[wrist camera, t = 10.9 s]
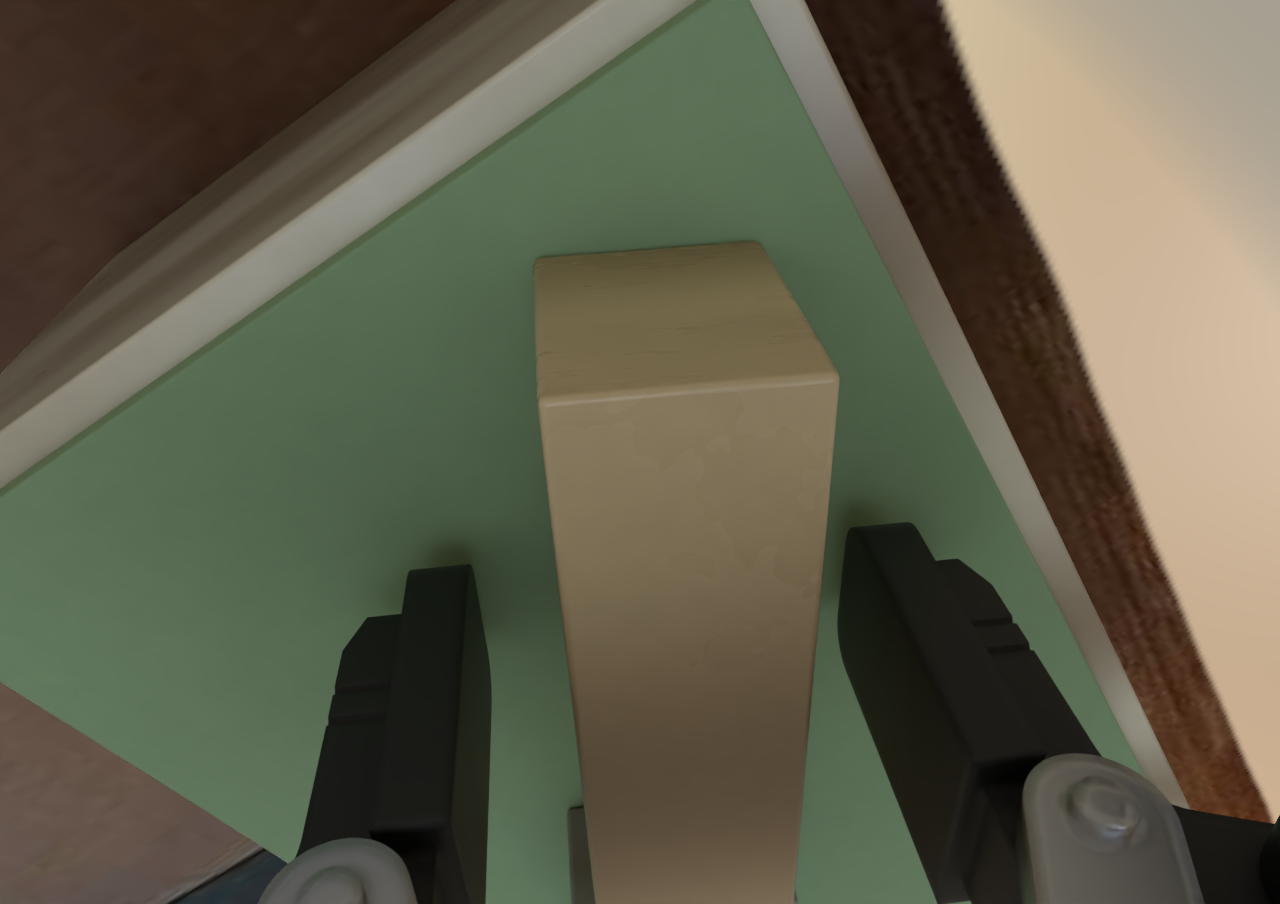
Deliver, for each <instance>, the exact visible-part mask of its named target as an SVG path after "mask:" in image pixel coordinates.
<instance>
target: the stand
mask: <svg viewBox="0 0 1280 904" xmlns="http://www.w3.org/2000/svg"><path fill="white" fill-rule="evenodd" d="M695 1H697V0H456V1H454V2H453V3H452V4H450V5H449V6H448V7H446V8H445V9H444V10H442V11H441V12H440V13H438V14H437V15H436V16H434V17H433V18H432V19H430V20H429V21H428V22H426V23H425V24H424V25H422V26H421V27H420V28H418V29H417V30H416V31H414V32H413V33H412V34H410V35H409V36H408V37H406V38H405V39H404V40H402V41H401V42H400V43H398V44H397V45H396V46H394V47H393V48H392V49H390V50H389V51H388V52H386V53H385V54H384V55H382V56H381V57H380V58H378V59H377V60H376V61H374V62H373V63H372V64H370V65H369V66H368V67H366V68H365V69H364V70H362V71H361V72H360V73H358V74H357V75H356V76H354V77H353V78H352V79H350V80H349V81H348V82H346V83H345V84H344V85H342V86H341V87H340V88H338V89H337V90H336V91H334V92H333V93H332V94H330V95H329V96H328V97H326V98H325V99H324V100H322V101H321V102H320V103H318V104H317V105H316V106H314V107H313V108H312V109H310V110H309V111H308V112H306V113H305V114H304V115H302V116H301V117H300V118H298V119H297V120H296V121H294V122H293V123H292V124H290V125H289V126H288V127H286V128H285V129H284V130H282V131H281V132H280V133H278V134H277V135H276V136H274V137H273V138H272V139H270V140H269V141H268V142H266V143H265V144H264V145H262V146H261V147H260V148H258V149H257V150H256V151H254V152H253V153H252V154H250V155H249V156H248V157H246V158H245V159H244V160H242V161H241V162H240V163H238V164H237V165H236V166H234V167H233V168H232V169H230V170H229V171H228V172H226V173H225V174H224V175H222V176H221V177H220V178H218V179H217V180H216V181H214V182H213V183H212V184H210V185H209V186H208V187H206V188H205V189H204V190H202V191H201V192H200V193H198V194H197V195H196V196H194V197H193V198H192V199H190V200H189V201H188V202H186V203H185V204H184V205H182V206H181V207H180V208H178V209H177V210H176V211H174V212H173V213H172V214H170V215H169V216H168V217H166V218H165V219H164V220H162V221H161V222H160V223H158V224H157V225H156V226H154V227H153V228H152V229H150V230H149V231H148V232H146V233H145V234H144V235H142V236H141V237H140V238H138V239H137V240H136V241H134V242H133V243H132V244H130V245H129V246H128V247H126V248H125V249H124V250H122V251H121V252H120V253H118V254H117V255H116V256H114V257H113V258H112V259H111V260H110V261H109V262H108V263H107V264H106V265H105V267H104V268H103V269H102V270H101V271H100V272H99V273H98V274H97V275H96V276H95V277H94V278H93V279H92V280H91V281H90V282H89V283H88V284H87V285H86V286H85V287H84V288H83V289H82V290H81V291H80V292H79V293H78V294H77V295H76V296H75V297H74V298H73V299H72V301H71V302H70V303H69V304H68V305H67V306H66V307H65V308H64V309H63V310H62V311H61V312H60V313H59V314H58V315H57V316H56V317H55V318H54V319H53V320H52V321H51V322H50V323H49V324H48V325H47V326H46V327H45V328H44V329H43V330H42V331H41V332H40V334H39V335H38V336H37V337H36V338H35V339H34V340H33V341H32V342H31V343H30V344H29V345H28V346H27V347H26V348H25V349H24V350H23V351H22V352H21V353H20V354H19V355H18V356H17V357H16V358H15V359H14V360H13V361H12V362H11V363H10V364H9V365H8V366H7V368H6V369H5V370H4V371H3V372H2V373H1V374H0V489H1V488H2V487H4V486H5V485H7V484H8V483H9V482H11V481H12V480H14V479H15V478H17V477H18V476H19V475H21V474H22V473H24V472H25V471H27V470H28V469H29V468H31V467H32V466H34V465H35V464H37V463H38V462H39V461H41V460H42V459H44V458H45V457H46V456H48V455H49V454H51V453H52V452H54V451H55V450H56V449H58V448H59V447H61V446H62V445H64V444H65V443H66V442H68V441H69V440H71V439H72V438H74V437H75V436H76V435H78V434H79V433H81V432H82V431H84V430H85V429H86V428H88V427H89V426H91V425H92V424H94V423H95V422H96V421H98V420H99V419H101V418H102V417H104V416H105V415H106V414H108V413H109V412H111V411H112V410H113V409H115V408H116V407H118V406H119V405H121V404H122V403H123V402H125V401H126V400H128V399H129V398H131V397H132V396H133V395H135V394H136V393H138V392H139V391H141V390H142V389H143V388H145V387H146V386H148V385H149V384H151V383H152V382H153V381H155V380H156V379H158V378H159V377H161V376H162V375H163V374H165V373H166V372H168V371H169V370H171V369H172V368H173V367H175V366H176V365H178V364H179V363H180V362H182V361H183V360H185V359H186V358H188V357H189V356H190V355H192V354H193V353H195V352H196V351H198V350H199V349H200V348H202V347H203V346H205V345H206V344H208V343H209V342H210V341H212V340H213V339H215V338H216V337H218V336H219V335H220V334H222V333H223V332H225V331H226V330H228V329H229V328H230V327H232V326H233V325H235V324H236V323H238V322H239V321H240V320H242V319H243V318H245V317H246V316H247V315H249V314H250V313H252V312H253V311H255V310H256V309H257V308H259V307H260V306H262V305H263V304H265V303H266V302H267V301H269V300H270V299H272V298H273V297H275V296H276V295H277V294H279V293H280V292H282V291H283V290H285V289H286V288H287V287H289V286H290V285H292V284H293V283H295V282H296V281H297V280H299V279H300V278H302V277H303V276H305V275H306V274H307V273H309V272H310V271H312V270H313V269H314V268H316V267H317V266H319V265H320V264H322V263H323V262H324V261H326V260H327V259H329V258H330V257H332V256H333V255H334V254H336V253H337V252H339V251H340V250H342V249H343V248H344V247H346V246H347V245H349V244H350V243H352V242H353V241H354V240H356V239H357V238H359V237H360V236H362V235H363V234H364V233H366V232H367V231H369V230H370V229H372V228H373V227H374V226H376V225H377V224H379V223H380V222H382V221H383V220H384V219H386V218H387V217H389V216H390V215H391V214H393V213H394V212H396V211H397V210H399V209H400V208H401V207H403V206H404V205H406V204H407V203H409V202H410V201H411V200H413V199H414V198H416V197H417V196H419V195H420V194H421V193H423V192H424V191H426V190H427V189H429V188H430V187H431V186H433V185H434V184H436V183H437V182H439V181H440V180H441V179H443V178H444V177H446V176H447V175H449V174H450V173H451V172H453V171H454V170H456V169H457V168H458V167H460V166H461V165H463V164H464V163H466V162H467V161H468V160H470V159H471V158H473V157H474V156H476V155H477V154H478V153H480V152H481V151H483V150H484V149H486V148H487V147H488V146H490V145H491V144H493V143H494V142H496V141H497V140H498V139H500V138H501V137H503V136H504V135H506V134H507V133H508V132H510V131H511V130H513V129H514V128H516V127H517V126H518V125H520V124H521V123H523V122H524V121H525V120H527V119H528V118H530V117H531V116H533V115H534V114H535V113H537V112H538V111H540V110H541V109H543V108H544V107H545V106H547V105H548V104H550V103H551V102H553V101H554V100H555V99H557V98H558V97H560V96H561V95H563V94H564V93H565V92H567V91H568V90H570V89H571V88H573V87H574V86H575V85H577V84H578V83H580V82H581V81H583V80H584V79H585V78H587V77H588V76H590V75H591V74H592V73H594V72H595V71H597V70H598V69H600V68H601V67H602V66H604V65H605V64H607V63H608V62H610V61H611V60H612V59H614V58H615V57H617V56H618V55H620V54H621V53H622V52H624V51H625V50H627V49H628V48H630V47H631V46H632V45H634V44H635V43H637V42H638V41H640V40H641V39H642V38H644V37H645V36H647V35H648V34H650V33H651V32H652V31H654V30H655V29H657V28H658V27H660V26H661V25H662V24H664V23H665V22H667V21H668V20H669V19H671V18H672V17H674V16H675V15H677V14H678V13H679V12H681V11H682V10H684V9H685V8H687V7H688V6H689V5H691V4H692V3H694V2H695ZM750 2H751V4H752V6H753V8H754V10H755V12H756V14H757V16H758V18H759V19H760V21H761V23H762V25H763V27H764V29H765V31H766V33H767V35H768V37H769V39H770V41H771V43H772V45H773V47H774V49H775V51H776V53H777V55H778V57H779V59H780V61H781V63H782V65H783V67H784V69H785V71H786V72H787V74H788V76H789V78H790V80H791V82H792V84H793V86H794V88H795V90H796V92H797V94H798V96H799V98H800V100H801V102H802V104H803V106H804V108H805V110H806V112H807V114H808V116H809V118H810V120H811V122H812V124H813V126H814V127H815V129H816V131H817V133H818V135H819V137H820V139H821V141H822V143H823V145H824V147H825V149H826V151H827V153H828V155H829V157H830V159H831V161H832V163H833V165H834V167H835V169H836V171H837V173H838V175H839V177H840V179H841V180H842V182H843V184H844V186H845V188H846V190H847V192H848V194H849V196H850V198H851V200H852V202H853V204H854V206H855V208H856V210H857V212H858V214H859V216H860V218H861V220H862V222H863V224H864V226H865V228H866V230H867V232H868V233H869V235H870V237H871V239H872V241H873V243H874V245H875V247H876V249H877V251H878V253H879V255H880V257H881V259H882V261H883V263H884V265H885V267H886V269H887V271H888V273H889V275H890V277H891V279H892V281H893V283H894V285H895V287H896V288H897V290H898V292H899V294H900V296H901V298H902V300H903V302H904V304H905V306H906V308H907V310H908V312H909V314H910V316H911V318H912V320H913V322H914V324H915V326H916V328H917V330H918V332H919V334H920V336H921V338H922V340H923V341H924V343H925V345H926V347H927V349H928V351H929V353H930V355H931V357H932V359H933V361H934V363H935V365H936V367H937V369H938V371H939V373H940V375H941V377H942V379H943V381H944V383H945V385H946V387H947V389H948V391H949V393H950V394H951V396H952V398H953V400H954V402H955V404H956V406H957V408H958V410H959V412H960V414H961V416H962V418H963V420H964V422H965V424H966V426H967V428H968V430H969V432H970V434H971V436H972V438H973V440H974V442H975V444H976V446H977V447H978V449H979V451H980V453H981V455H982V457H983V459H984V461H985V463H986V465H987V467H988V469H989V471H990V473H991V475H992V477H993V479H994V481H995V483H996V485H997V487H998V489H999V491H1000V493H1001V495H1002V497H1003V499H1004V501H1005V502H1006V504H1007V506H1008V508H1009V510H1010V512H1011V514H1012V516H1013V518H1014V520H1015V522H1016V524H1017V526H1018V528H1019V530H1020V532H1021V534H1022V536H1023V538H1024V540H1025V542H1026V544H1027V546H1028V548H1029V550H1030V552H1031V554H1032V555H1033V557H1034V559H1035V561H1036V563H1037V565H1038V567H1039V569H1040V571H1041V573H1042V575H1043V577H1044V579H1045V581H1046V583H1047V585H1048V587H1049V589H1050V591H1051V593H1052V595H1053V597H1054V599H1055V601H1056V603H1057V605H1058V607H1059V608H1060V610H1061V612H1062V614H1063V616H1064V618H1065V620H1066V622H1067V624H1068V626H1069V628H1070V630H1071V632H1072V634H1073V636H1074V638H1075V640H1076V642H1077V644H1078V646H1079V648H1080V650H1081V652H1082V654H1083V656H1084V658H1085V660H1086V661H1087V663H1088V665H1089V667H1090V669H1091V671H1092V673H1093V675H1094V677H1095V679H1096V681H1097V683H1098V685H1099V687H1100V689H1101V691H1102V693H1103V695H1104V697H1105V699H1106V701H1107V703H1108V705H1109V707H1110V709H1111V711H1112V713H1113V715H1114V716H1115V718H1116V720H1117V722H1118V724H1119V726H1120V728H1121V730H1122V732H1123V734H1124V736H1125V738H1126V740H1127V742H1128V744H1129V746H1130V748H1131V750H1132V752H1133V754H1134V756H1135V758H1136V760H1137V762H1138V764H1139V766H1140V768H1141V769H1142V771H1143V773H1144V775H1145V777H1146V779H1147V780H1148V781H1150V782H1151V783H1152V784H1153V785H1154V786H1155V787H1157V788H1158V789H1159V790H1160V791H1161V792H1162V793H1163V795H1164V796H1165V797H1166V798H1167V799H1168V801H1169V802H1170V803H1171V804H1173V805H1176V806H1179V807H1182V808H1186V809H1190V807H1189V805H1188V803H1187V801H1186V799H1185V797H1184V795H1183V793H1182V790H1181V788H1180V786H1179V784H1178V782H1177V780H1176V778H1175V776H1174V774H1173V772H1172V770H1171V767H1170V765H1169V763H1168V761H1167V759H1166V757H1165V755H1164V753H1163V751H1162V749H1161V746H1160V744H1159V742H1158V740H1157V738H1156V736H1155V734H1154V732H1153V730H1152V728H1151V725H1150V723H1149V721H1148V719H1147V717H1146V715H1145V713H1144V711H1143V709H1142V707H1141V705H1140V702H1139V700H1138V698H1137V696H1136V694H1135V692H1134V690H1133V688H1132V686H1131V684H1130V681H1129V679H1128V677H1127V675H1126V673H1125V671H1124V669H1123V667H1122V665H1121V663H1120V660H1119V658H1118V656H1117V654H1116V652H1115V650H1114V648H1113V646H1112V644H1111V642H1110V640H1109V637H1108V635H1107V633H1106V631H1105V629H1104V627H1103V625H1102V623H1101V621H1100V619H1099V616H1098V614H1097V612H1096V610H1095V608H1094V606H1093V604H1092V602H1091V600H1090V598H1089V596H1088V593H1087V591H1086V589H1085V587H1084V585H1083V583H1082V581H1081V579H1080V577H1079V575H1078V572H1077V570H1076V568H1075V566H1074V564H1073V562H1072V560H1071V558H1070V556H1069V554H1068V551H1067V549H1066V547H1065V545H1064V543H1063V541H1062V539H1061V537H1060V535H1059V533H1058V531H1057V528H1056V526H1055V524H1054V522H1053V520H1052V518H1051V516H1050V514H1049V512H1048V510H1047V507H1046V505H1045V503H1044V501H1043V499H1042V497H1041V495H1040V493H1039V491H1038V489H1037V486H1036V484H1035V482H1034V480H1033V478H1032V476H1031V474H1030V472H1029V470H1028V468H1027V466H1026V463H1025V461H1024V459H1023V457H1022V455H1021V453H1020V451H1019V449H1018V447H1017V445H1016V442H1015V440H1014V438H1013V436H1012V434H1011V432H1010V430H1009V428H1008V426H1007V424H1006V422H1005V419H1004V417H1003V415H1002V413H1001V411H1000V409H999V407H998V405H997V403H996V401H995V398H994V396H993V394H992V392H991V390H990V388H989V386H988V384H987V382H986V380H985V377H984V375H983V373H982V371H981V369H980V367H979V365H978V363H977V361H976V359H975V357H974V354H973V352H972V350H971V348H970V346H969V344H968V342H967V340H966V338H965V336H964V333H963V331H962V329H961V327H960V325H959V323H958V321H957V319H956V317H955V315H954V312H953V310H952V308H951V306H950V304H949V302H948V300H947V298H946V296H945V294H944V292H943V289H942V287H941V285H940V283H939V281H938V279H937V277H936V275H935V273H934V271H933V268H932V266H931V264H930V262H929V260H928V258H927V256H926V254H925V252H924V250H923V248H922V245H921V243H920V241H919V239H918V237H917V235H916V233H915V231H914V229H913V227H912V224H911V222H910V220H909V218H908V216H907V214H906V212H905V210H904V208H903V206H902V203H901V201H900V199H899V197H898V195H897V193H896V191H895V189H894V187H893V185H892V183H891V180H890V178H889V176H888V174H887V172H886V170H885V168H884V166H883V164H882V162H881V159H880V157H879V155H878V153H877V151H876V149H875V147H874V145H873V143H872V141H871V138H870V136H869V134H868V132H867V130H866V128H865V126H864V124H863V122H862V120H861V118H860V115H859V113H858V111H857V109H856V107H855V105H854V103H853V101H852V99H851V97H850V94H849V92H848V90H847V88H846V86H845V84H844V82H843V80H842V78H841V76H840V74H839V71H838V69H837V67H836V65H835V63H834V61H833V59H832V57H831V55H830V53H829V50H828V48H827V46H826V44H825V42H824V40H823V38H822V36H821V34H820V32H819V29H818V27H817V25H816V23H815V21H814V19H813V17H812V15H811V13H810V11H809V9H808V6H807V4H806V2H805V0H750ZM1 683H2V682H1ZM3 684H4V683H3ZM4 685H5V684H4ZM6 686H7V685H6ZM7 687H8V686H7ZM9 688H10V687H9ZM11 689H12V688H11ZM12 690H13V689H12ZM14 691H15V690H14ZM15 692H16V691H15ZM17 693H18V692H17ZM18 694H19V693H18ZM20 695H21V694H20ZM22 696H23V695H22ZM23 697H24V696H23ZM25 698H26V697H25ZM26 699H27V698H26ZM28 700H29V699H28ZM30 701H31V700H30ZM31 702H32V701H31ZM33 703H34V702H33ZM34 704H35V703H34ZM36 705H37V704H36ZM38 706H39V705H38ZM39 707H40V706H39ZM41 708H42V707H41ZM42 709H43V708H42ZM44 710H45V709H44ZM45 711H46V710H45ZM47 712H48V711H47ZM49 713H50V712H49ZM50 714H51V713H50ZM52 715H53V714H52ZM53 716H54V715H53ZM55 717H56V716H55ZM57 718H58V717H57ZM58 719H59V718H58ZM60 720H61V719H60ZM61 721H62V720H61ZM63 722H64V721H63ZM65 723H66V722H65ZM66 724H67V723H66ZM68 725H69V724H68ZM69 726H70V725H69ZM71 727H72V726H71ZM73 728H74V727H73ZM74 729H75V728H74ZM76 730H77V729H76ZM77 731H78V730H77ZM79 732H80V731H79ZM80 733H81V732H80ZM82 734H83V733H82ZM84 735H85V734H84ZM85 736H86V735H85ZM87 737H88V736H87ZM88 738H89V737H88ZM90 739H91V738H90ZM92 740H93V739H92ZM93 741H94V740H93ZM95 742H96V741H95ZM96 743H97V742H96ZM98 744H99V743H98ZM100 745H101V744H100ZM101 746H102V745H101ZM103 747H104V746H103ZM104 748H105V747H104ZM106 749H107V748H106ZM107 750H108V749H107ZM109 751H110V750H109ZM111 752H112V751H111ZM112 753H113V752H112ZM114 754H115V753H114ZM115 755H116V754H115ZM117 756H118V755H117ZM119 757H120V756H119ZM120 758H121V757H120ZM122 759H123V758H122ZM123 760H124V759H123ZM125 761H126V760H125ZM127 762H128V761H127ZM128 763H129V762H128ZM130 764H131V763H130ZM131 765H132V764H131ZM133 766H134V765H133ZM136 768H137V767H136ZM138 769H139V768H138ZM139 770H140V769H139ZM141 771H142V770H141ZM142 772H143V771H142ZM144 773H145V772H144ZM146 774H147V773H146ZM147 775H148V774H147ZM149 776H150V775H149ZM150 777H151V776H150ZM152 778H153V777H152ZM154 779H155V778H154ZM155 780H156V779H155ZM157 781H158V780H157ZM158 782H159V781H158ZM160 783H161V782H160ZM163 785H164V784H163ZM165 786H166V785H165ZM166 787H167V786H166ZM168 788H169V787H168ZM169 789H170V788H169ZM171 790H172V789H171ZM173 791H174V790H173ZM174 792H175V791H174ZM176 793H177V792H176ZM177 794H178V793H177ZM179 795H180V794H179ZM181 796H182V795H181ZM182 797H183V796H182ZM184 798H185V797H184ZM185 799H186V798H185ZM187 800H188V799H187ZM190 802H191V801H190ZM192 803H193V802H192ZM193 804H194V803H193ZM195 805H196V804H195ZM198 807H199V806H198ZM200 808H201V807H200ZM201 809H202V808H201ZM203 810H204V809H203ZM1190 810H1191V809H1190ZM204 811H205V810H204ZM206 812H207V811H206ZM208 813H209V812H208ZM209 814H210V813H209ZM211 815H212V814H211ZM212 816H213V815H212ZM214 817H215V816H214ZM217 819H218V818H217ZM219 820H220V819H219ZM220 821H221V820H220ZM222 822H223V821H222ZM225 824H226V823H225ZM227 825H228V824H227ZM228 826H229V825H228ZM230 827H231V826H230ZM233 829H234V828H233ZM235 830H236V829H235ZM236 831H237V830H236ZM238 832H239V831H238ZM239 833H240V832H239ZM241 834H242V833H241ZM243 835H244V834H243ZM244 836H245V835H244ZM246 837H247V836H246ZM247 838H248V837H247ZM249 839H250V838H249ZM252 841H253V840H252ZM254 842H255V841H254ZM255 843H256V842H255ZM257 844H258V843H257ZM260 846H261V845H260ZM262 847H263V846H262ZM263 848H264V847H263ZM265 849H266V848H265ZM266 850H267V849H266ZM268 851H269V850H268ZM270 852H271V851H270ZM271 853H272V852H271ZM273 854H274V853H273ZM274 855H275V854H274ZM276 856H277V855H276ZM279 858H280V857H279ZM281 859H282V858H281ZM282 860H283V859H282ZM284 861H285V860H284ZM287 863H288V862H287Z"/></svg>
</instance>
